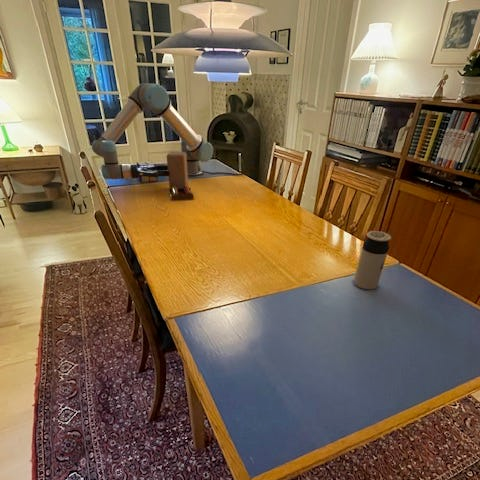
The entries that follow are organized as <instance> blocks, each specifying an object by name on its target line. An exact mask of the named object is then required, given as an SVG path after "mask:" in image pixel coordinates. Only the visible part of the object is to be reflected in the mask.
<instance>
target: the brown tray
mask: <svg viewBox="0 0 480 480" xmlns="http://www.w3.org/2000/svg"><path fill="white" fill-rule="evenodd" d="M169 195H170V198H171V201H187V200H188V201H189V200H194V194H193V193H192V189H191V187H189V185H188V186H184V188H176V187H175V186H173V187H172V189H170V188H169Z"/></svg>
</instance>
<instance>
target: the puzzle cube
mask: <svg viewBox="0 0 480 480" xmlns="http://www.w3.org/2000/svg"><path fill="white" fill-rule="evenodd" d="M136 164H137V167H138V168H139V166H148V165H154V164H155V163H154V162H153V161H152V160H148V161H137V162H136ZM154 171H157V170H154ZM138 179H139V180H140V181H141V182H142V183H148V182H158V178H155V177H145V176H140V175H139V178H138Z"/></svg>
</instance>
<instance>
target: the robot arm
mask: <svg viewBox="0 0 480 480" xmlns="http://www.w3.org/2000/svg"><path fill="white" fill-rule="evenodd" d="M126 101H127V102H126V103H125V104H124V106H122V109H121V110H119V112H118V113H117V115H116V116H115V117H114V119H113V120H112V121H111V123H109V125H108V127H107V128H106V129H105V131H104V132H103V133H101V136H100V137H99V138H98V139H97V140H96V139H95V140H94V141H93V142H92V143H91V150H92V152H93V153H94V154H95V155H97V156H99V157H102V158H103V163H104V164H102V165H101V167H100V169H101V174H102V177H103V179H105V180H124V179H125V180H128V179H130V180H131V179H139V175H140V176H145V177H155V178H157V179H158V178H159V177H168V176H169V171H168V166H167V164H163V165H162V164H161V165H157V164H156V163H154V165H148V166H139V168H138V167H137V163H130V164H129V163H126V164H125V163H123V164H119V158H118V151H117V147H116V143H117V141H118V140H119V139H120V138H121V136H122V135H123V134H124V132H125V131H126V130H127V129H128V127H129V126H130V125H131V123H132V122H133V121H134V120H135V119H136V117H137V116H138V115H139V114H142V113H143V111H144V110H146V109H149V110H150V111H152V113H153V114H154V115H155V116H156V117H159V118H160V117H161V118H162V119H163V121H164V122H165V123H166V124H167V125H168V126H169V128H170V129H172V130H173V132H174V133H175V134H176V135H177V136H178V137H179V138H180V148H181V152H185V153H186V156H187V172H188V177H197V176H201V175H203V173H204V174H209V175H221V174H222V175H223V174H224V175H232V176H243V175H246V176H250V175H249V174H248V173H247V172H242V173H233V172H224V171H223V172H222V171H218V172H212V171H211V172H210V171H205V170H203V168H202V165H201V163H200V162H202V163H207V162H209V161H210V160H211V159H212V157H213V155H214V147H213V145H212V143H210V142H209V141H206V140H205V139H204V137H203V136H202V135H201V134H196V132H195V131H194V130H193V128H191V126H190V125H189V124H188V123H187V121H186V120H185V119H184V118H183V117H182V116H181V115H180V113H179V112H178V111H177V110H176V109H175V108H174V106H173V105H172V100H171V99H170V97H169V94H168V91H167V89H166V88H165V87H164V86H162V85H161V84H158V83H148V82H143V83H140V84H138V85H137V86H136V87H135V88H134V90H133V91H132V92H131V93H130V94H129V95H128V97H127V98H126ZM154 170H156V171H154Z"/></svg>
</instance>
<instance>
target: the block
mask: <svg viewBox="0 0 480 480" xmlns="http://www.w3.org/2000/svg"><path fill="white" fill-rule="evenodd" d="M166 165H167V166H168V170H167V171H169V176H167V177H168V187H169V190H170V189H172V187H173V186H175V187H176V188H184V186H188V187H189V176H188V172H187V156H186V153H185V152H182V151H169V152H168V153H167V154H166Z"/></svg>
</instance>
